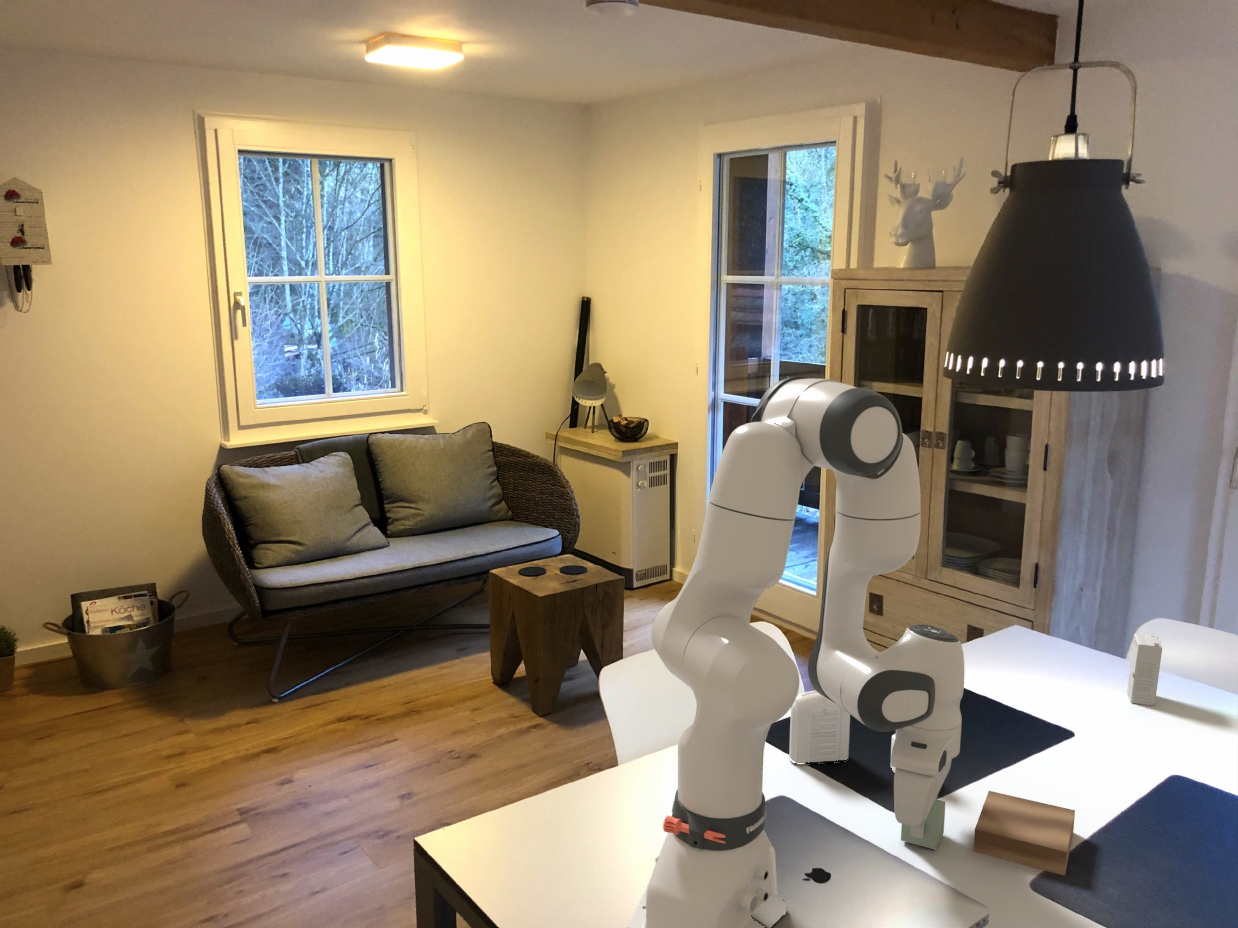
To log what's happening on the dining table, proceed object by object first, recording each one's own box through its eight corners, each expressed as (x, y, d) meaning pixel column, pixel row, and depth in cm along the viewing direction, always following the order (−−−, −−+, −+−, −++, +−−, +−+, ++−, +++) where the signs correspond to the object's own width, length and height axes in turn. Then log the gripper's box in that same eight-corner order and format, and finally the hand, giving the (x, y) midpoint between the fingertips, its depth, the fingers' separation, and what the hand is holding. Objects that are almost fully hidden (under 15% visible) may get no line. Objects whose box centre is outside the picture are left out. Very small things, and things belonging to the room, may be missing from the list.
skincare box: (1126, 690, 193) (1131, 632, 191) (1152, 693, 192) (1157, 634, 189) (1130, 703, 188) (1136, 643, 185) (1157, 707, 186) (1163, 646, 184)
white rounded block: (843, 750, 171) (845, 683, 168) (852, 762, 167) (854, 694, 164) (785, 755, 169) (787, 688, 167) (793, 767, 165) (795, 698, 163)
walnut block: (1064, 878, 135) (1066, 851, 134) (973, 854, 141) (974, 828, 140) (1072, 834, 145) (1075, 810, 145) (987, 814, 151) (988, 790, 150)
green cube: (936, 849, 141) (938, 817, 140) (900, 840, 143) (902, 808, 142) (943, 832, 145) (945, 801, 144) (909, 823, 147) (910, 792, 146)
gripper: (922, 704, 151) (917, 786, 154) (887, 760, 134) (883, 852, 136) (964, 712, 148) (959, 797, 151) (935, 771, 131) (929, 865, 133)
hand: (922, 824), depth 144 cm, fingers closed on green cube, 5 cm apart
